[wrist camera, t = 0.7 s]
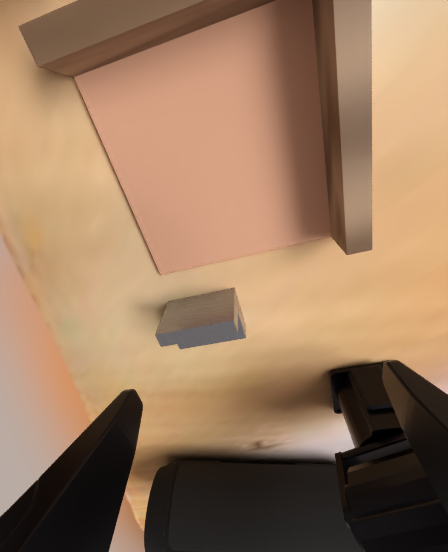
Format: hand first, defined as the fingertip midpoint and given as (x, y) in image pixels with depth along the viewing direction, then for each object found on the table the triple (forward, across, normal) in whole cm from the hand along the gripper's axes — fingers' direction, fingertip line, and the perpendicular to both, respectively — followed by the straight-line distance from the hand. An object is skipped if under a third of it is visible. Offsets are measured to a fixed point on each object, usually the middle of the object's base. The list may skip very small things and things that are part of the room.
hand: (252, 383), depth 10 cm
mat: (+12, +1, -6) cm, 14 cm away
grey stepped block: (+13, +4, +5) cm, 15 cm away
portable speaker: (+13, +4, +32) cm, 35 cm away
